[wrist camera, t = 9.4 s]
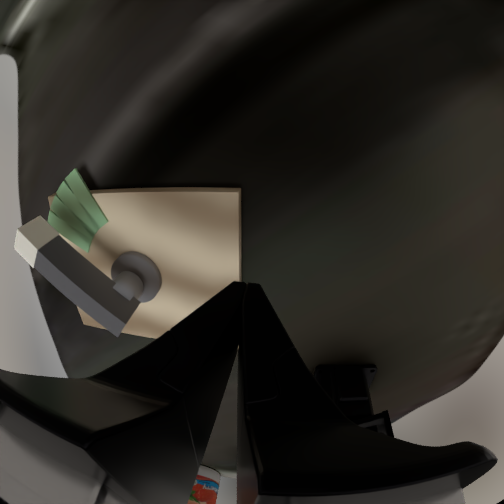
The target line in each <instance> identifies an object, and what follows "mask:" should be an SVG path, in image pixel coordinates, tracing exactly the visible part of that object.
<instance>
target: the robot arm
mask: <svg viewBox="0 0 504 504" xmlns="http://www.w3.org/2000/svg"><path fill="white" fill-rule="evenodd" d="M238 346H239V348H238ZM237 350H238V397H237V504H465V500H464V495H463V490H462V489H463V488H464V487H466V486H468V485H469V484H471V483H472V482H474V481H475V480H477V479H478V478H480V477H481V476H482V475H484V474H485V473H486V472H488V471H489V470H490V469H491V468H492V467H493V466H494V465H495V464H496V463H497V460H498V459H497V458H496V456H495V455H494V454H493V453H492V452H491V451H490V450H489V449H487V448H486V447H484V446H481V445H478V444H475V443H472V442H469V441H468V442H460V443H455V444H451V445H447V446H441V447H431V446H422V445H417V444H413V443H410V442H406V441H403V440H400V439H396V438H394V435H393V431H392V426H391V422H390V418H389V414H388V410H386V411H383V412H382V413H379V414H376V415H374V413H373V408H372V403H371V398H370V393H369V387H370V385H371V383H372V381H373V378H374V376H375V374H376V372H377V367H376V366H375V365H353V366H322V365H321V366H317V367H316V368H315V372H314V376H313V375H312V373H311V372H310V371H309V369H308V368H307V366H306V365H305V363H304V361H303V360H302V358H301V357H300V355H299V353H298V351H297V349H296V348H295V346H294V344H293V343H292V341H291V339H290V337H289V335H288V334H287V332H286V330H285V328H284V327H283V325H282V323H281V321H280V319H279V318H278V316H277V314H276V312H275V310H274V309H273V307H272V305H271V303H270V301H269V300H268V298H267V296H266V294H265V292H264V291H263V289H262V287H261V285H260V284H256V283H247V284H246V283H245V282H239V281H233V282H231V283H230V284H229V285H227V286H226V287H225V288H224V289H222V290H221V291H220V292H218V293H217V294H216V295H214V296H213V297H212V298H210V299H209V300H208V301H206V302H205V303H204V304H202V305H201V306H200V307H198V308H197V309H196V310H194V311H193V312H192V313H191V314H189V315H188V316H187V317H185V318H184V319H183V320H181V321H180V322H179V323H177V324H176V325H175V326H173V327H172V328H171V329H170V331H169V330H168V331H166V332H165V333H164V334H162V335H161V336H160V337H158V338H157V339H155V340H154V341H152V342H151V343H150V344H148V345H147V346H145V347H143V348H142V349H140V350H138V351H137V352H135V353H133V354H132V355H130V356H128V357H126V358H125V359H123V360H121V361H119V362H118V363H116V364H114V365H112V366H111V367H109V368H107V369H105V370H103V371H102V372H100V373H98V374H96V375H93V376H90V377H87V378H80V379H71V378H57V377H44V376H35V375H27V374H19V373H14V372H9V371H5V370H1V369H0V504H187V503H188V500H189V497H190V494H191V492H192V489H193V486H194V483H195V480H196V477H197V474H198V471H199V468H200V465H201V462H202V459H203V456H204V453H205V450H206V447H207V444H208V441H209V438H210V435H211V432H212V429H213V426H214V423H215V420H216V417H217V413H218V410H219V407H220V404H221V401H222V398H223V395H224V392H225V389H226V386H227V382H228V379H229V376H230V373H231V370H232V367H233V364H234V360H235V357H236V354H237ZM497 504H504V500H502V501H501V502H499V503H497Z"/></svg>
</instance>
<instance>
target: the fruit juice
mask: <svg viewBox="0 0 504 504" xmlns="http://www.w3.org/2000/svg"><path fill="white" fill-rule="evenodd" d="M219 483H220V474H219V473H218V472H217V471H215V470H213V469H211V468H208V467H205V466H202V465H200V468H199V471H198V474H197V477H196V480H195V483H194V486H193V489H192V492H191V494H190V497H189V500H188V503H187V504H216V499H217V493H218V488H219Z"/></svg>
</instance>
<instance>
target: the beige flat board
mask: <svg viewBox="0 0 504 504" xmlns="http://www.w3.org/2000/svg"><path fill="white" fill-rule="evenodd" d="M65 180H66V181H67V183H68V184H67V183H66V181H63V182H62V184H61V186H60V187H59V189H58V190H57V192H56V193H55V194H53V195H51V196H48V199H49V204H50V211H49V217H48V223H49V224H50V225H51V226H52V227H53V228H54V229H55V230H56V231H57V232H58V233H60V234H59V235H60V236H61V237H62V238H63V239H64V240H65V241H66V242H67V243H69V244H70V245H71V246H72V247H73V248H74V249H75V250H77V251H78V252H79V253H80V254H81V255H82V256H84V257H85V258H86V259H87V260H88V261H89V262H91V263H92V264H93V265H94V266H95V267H97V268H98V269H99V270H100V271H102V272H103V273H104V274H105V275H106V276H108V277H109V278H110V279H111V280H113V281H114V280H115V278H116V277H117V276H118V275H119V274H120V273H121V272H123V271H130V272H133V273H135V274H136V275H137V276H138V277H139V278H140V279H141V280H142V282H143V285H144V291H143V293H142V295H141V296H140V297H139V299H138V300H139V301H140V302H141V303H140V304H139V306H138V307H137V309H136V310H135V312H134V313H133V315H132V316H131V318H130V319H129V321H128V322H127V324H126V325H125V327H124V328H123V330H122V331H121V332H122V333H127V334H133V335H138V336H144V337H150V338H156V339H157V338H158V337H160V336H161V335H162V334H164V333H165V332H166V331H168V330H169V331H170V329H171V328H172V327H173V326H175V325H176V324H177V323H179V322H180V321H181V320H183V319H184V318H185V317H187V316H188V315H189V314H191V313H192V312H193V311H194V310H196V309H197V308H198V307H200V306H201V305H202V304H204V303H205V302H206V301H208V300H209V299H210V298H212V297H213V296H214V295H216V294H217V293H218V292H220V291H221V290H222V289H224V288H225V287H226V286H227V285H229V284H230V283H231V282H233V281H239V282H242V277H241V188H210V187H169V188H127V189H104V190H89V189H88V187H87V185H86V183H85V182H84V180H83V178H82V177H81V175H80V173H79V171H78V170H77V168H75V169H74V170H73V171H72V172H71V173H70V174H69V175H68V176H67V177H66V178H65ZM77 307H78V306H77ZM78 310H79V313H80V315H81V318H82V321H83V323H84V325H89V326H93V327H98V328H102V329H106V328H104V327H103V326H102V325H101V324H99V323H98V322H97V321H95V320H94V319H93V318H92V317H90V316H89V315H88V314H87V313H85V312H84V311H83V310H82V309H80V308H79V307H78ZM238 348H239V346H238Z"/></svg>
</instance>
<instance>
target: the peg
mask: <svg viewBox="0 0 504 504" xmlns="http://www.w3.org/2000/svg"><path fill="white" fill-rule="evenodd" d="M59 234H60V233H58V232H57V231H56V230H55V229H54V228H53V227H52V226H51V225H50V224H49V223H48V222H47V221H46V220H45V219H43V218H42V217H41V216H38V217H36V218H35V219H33V220H31V221H30V222H28V223H26V224H25V225H23V226H21V227H20V228H18V229H17V234H16V239H15V246H14V249H15V250H16V251H17V252H18V253H19V254H20V255H21V256H22V257H23V258H24V259H25V260H26V261H27V262H28V263H29V264H30V265H31V266H32V267H33V268H34V267H35V268H36V269H37V270H38V271H39V272H40V273H41V274H42V275H43V276H44V277H45V278H46V279H47V280H48V281H49V282H50V283H52V284H53V285H54V286H55V287H56V288H57V289H58V290H59V291H60V292H62V293H63V294H64V295H65V296H66V297H67V298H68V299H70V300H71V301H72V302H73V303H74V304H76V305H77V306H78V307H79V308H80V309H82V310H83V311H84V312H85V313H87V314H88V315H89V316H90V317H92V318H93V319H94V320H95V321H97V322H98V323H99V324H101V325H102V326H103V327H104V328H106V329H107V330H108V331H110V332H111V333H112V334H114V335H115V336H117V337H118V336H119V334H120V333H121V331H122V330H123V328H124V327H125V325H126V324H127V322H128V321H129V319H130V318H131V316H132V315H133V313H134V312H135V310H136V309H137V307H138V306H139V304H140V303H141V302H140V301H139V300H138V299H139V297H140V296H141V295H142V293H143V291H144V285H143V282H142V280H141V279H140V278H139V277H138V276H137V275H136V274H135V273H133V272H130V271H123V272H121V273H120V274H119V275H118V276H117V277H116V278H115V280H114V281H113V280H111V279H110V278H109V277H108V276H106V275H105V274H104V273H103V272H102V271H100V270H99V269H98V268H97V267H95V266H94V265H93V264H92V263H91V262H89V261H88V260H87V259H86V258H85V257H84V256H82V255H81V254H80V253H79V252H78V251H77V250H75V249H74V248H73V247H72V246H71V245H70V244H69V243H67V242H66V241H65V240H64V239H63V238H62V237H61V236H60V235H59Z"/></svg>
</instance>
